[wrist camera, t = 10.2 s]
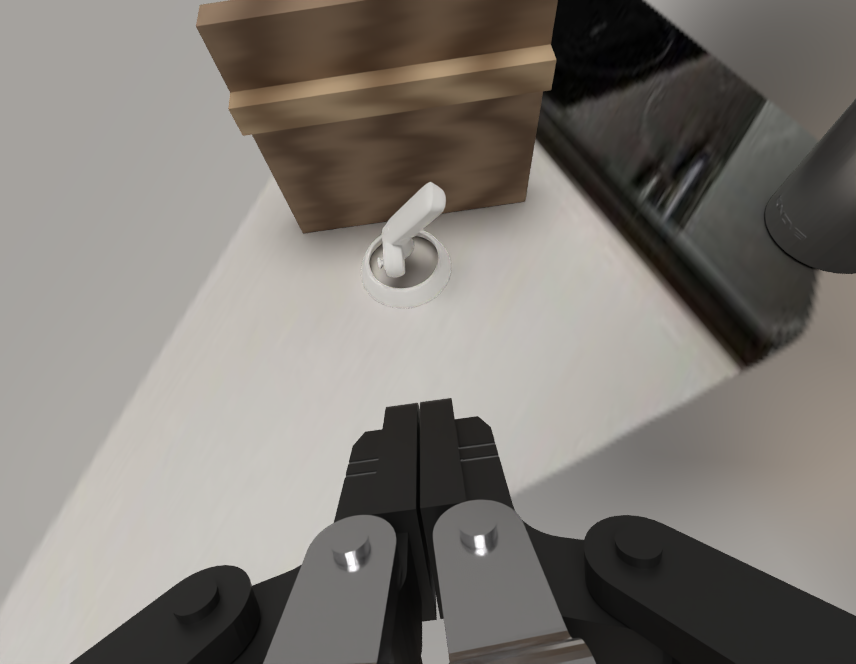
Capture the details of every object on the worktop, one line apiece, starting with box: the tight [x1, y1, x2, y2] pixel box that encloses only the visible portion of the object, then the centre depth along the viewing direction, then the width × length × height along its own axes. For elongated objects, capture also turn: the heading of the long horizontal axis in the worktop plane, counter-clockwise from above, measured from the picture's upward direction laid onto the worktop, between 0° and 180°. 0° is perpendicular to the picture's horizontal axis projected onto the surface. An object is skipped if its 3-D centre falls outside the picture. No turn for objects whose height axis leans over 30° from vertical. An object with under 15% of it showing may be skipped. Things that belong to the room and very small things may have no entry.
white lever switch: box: [361, 182, 451, 309], centre depth 36 cm, size 8×12×7 cm
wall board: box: [196, 0, 558, 233], centre depth 33 cm, size 20×4×18 cm, turn 96°
